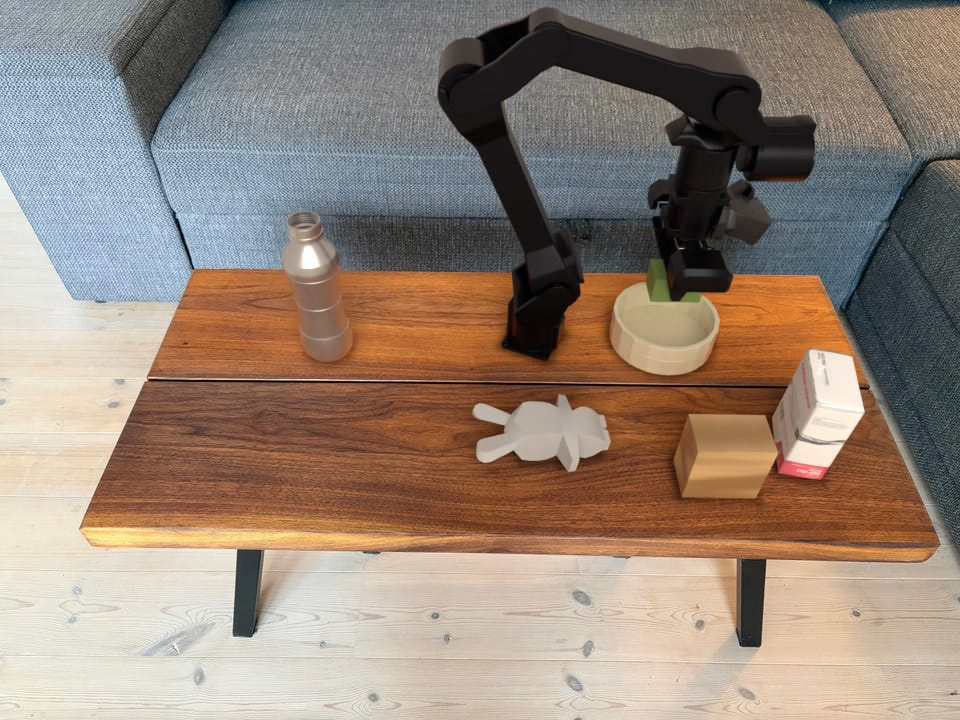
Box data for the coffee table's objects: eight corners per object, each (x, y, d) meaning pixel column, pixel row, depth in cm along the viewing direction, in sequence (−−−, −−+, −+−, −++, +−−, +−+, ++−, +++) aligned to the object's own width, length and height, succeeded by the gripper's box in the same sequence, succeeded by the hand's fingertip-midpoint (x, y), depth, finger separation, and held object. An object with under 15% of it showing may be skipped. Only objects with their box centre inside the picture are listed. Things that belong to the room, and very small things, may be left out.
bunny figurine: (620, 453, 76) (480, 451, 74) (608, 481, 80) (474, 480, 78) (602, 387, 83) (474, 383, 81) (591, 416, 86) (468, 413, 84)
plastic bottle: (341, 374, 89) (317, 242, 75) (293, 361, 91) (260, 230, 77) (364, 340, 94) (344, 210, 79) (317, 328, 95) (290, 198, 81)
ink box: (824, 482, 79) (867, 412, 70) (777, 474, 79) (813, 404, 71) (815, 423, 85) (853, 351, 76) (770, 416, 85) (803, 344, 77)
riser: (755, 498, 77) (778, 453, 71) (681, 497, 77) (698, 452, 71) (744, 460, 81) (765, 414, 75) (673, 459, 81) (688, 413, 75)
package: (699, 302, 87) (706, 280, 85) (650, 302, 87) (655, 279, 85) (692, 281, 90) (699, 259, 88) (645, 281, 90) (650, 258, 88)
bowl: (721, 376, 90) (730, 350, 87) (615, 374, 90) (621, 349, 87) (699, 306, 99) (707, 281, 96) (604, 305, 99) (608, 279, 96)
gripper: (802, 229, 71) (757, 343, 82) (753, 136, 84) (720, 245, 95) (689, 227, 71) (659, 341, 82) (658, 134, 84) (636, 243, 95)
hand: (672, 289), depth 88 cm, fingers closed on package, 4 cm apart
